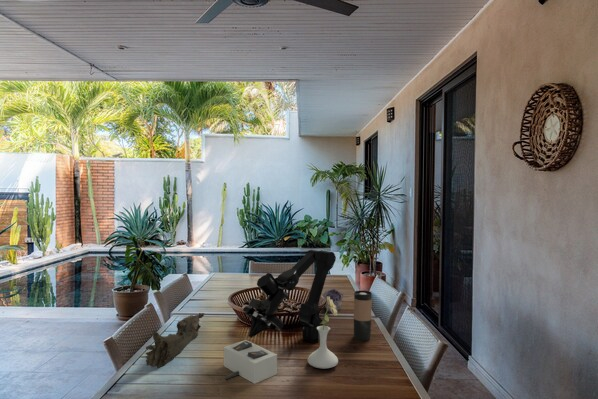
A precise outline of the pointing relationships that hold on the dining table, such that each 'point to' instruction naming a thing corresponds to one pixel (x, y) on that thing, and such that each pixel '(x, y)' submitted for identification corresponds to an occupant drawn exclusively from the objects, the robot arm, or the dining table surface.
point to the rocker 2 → (256, 354)
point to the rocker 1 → (243, 346)
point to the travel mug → (362, 315)
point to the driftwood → (173, 341)
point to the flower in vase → (324, 344)
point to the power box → (250, 363)
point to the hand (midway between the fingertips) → (249, 337)
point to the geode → (334, 299)
